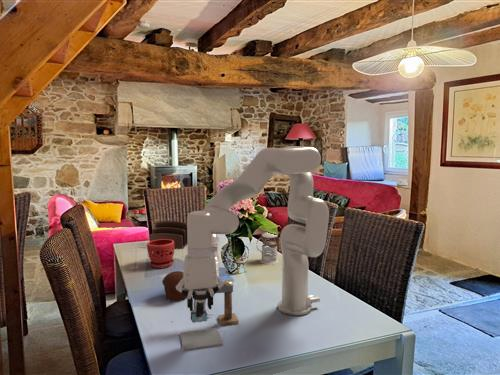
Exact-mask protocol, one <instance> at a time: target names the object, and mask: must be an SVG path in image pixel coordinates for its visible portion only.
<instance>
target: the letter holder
mask: <svg viewBox="0 0 500 375" xmlns="http://www.w3.org/2000/svg"><path fill="white" fill-rule="evenodd" d="M159 239H170V240H173V241H174V250H175V249H176V250H183V249H184V248H185V247H187V246H188V243H187V222H183V221H175V220H163V221H161V220H159V221H156V222H155V223H154V228H152V233H151V234H149V242H150V241H153V240H159ZM160 245H161V244H160Z"/></svg>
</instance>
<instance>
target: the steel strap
mask: <svg viewBox="0 0 500 375" xmlns="http://www.w3.org/2000/svg"><path fill="white" fill-rule="evenodd" d="M223 283H224V285H223V286H222V287H221V288H220V289H219V290H218V291H217V292H216V293H215V294H222V293H223V294H224V293H226V292H232V293H233V292H234V284H233V283H234V281H232V280H230V279H226V280H224V281H223ZM184 289H185V287H184ZM185 290H186V291H187V289H185ZM193 291H194V290H193ZM206 291H208V292H209V290H208V288H206Z"/></svg>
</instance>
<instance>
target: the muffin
mask: <svg viewBox="0 0 500 375" xmlns="http://www.w3.org/2000/svg"><path fill="white" fill-rule="evenodd" d="M182 278H183V271H178V270H176V271H172V272H169V273H168V274H166V275H165V277H164V278H163V279H162V285H163V287H164V293H165V298H166V301H167V300H168V301H169V302H182V301H185V300H187V297H186V296H184V295H183V294H182V293H181V292H179V291H178V290H176V286H177V284H178V283H179V282H180V281H181V279H182ZM182 288H183V289H184V285H183V286H182Z"/></svg>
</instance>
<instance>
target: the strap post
mask: <svg viewBox="0 0 500 375" xmlns="http://www.w3.org/2000/svg"><path fill="white" fill-rule="evenodd" d="M223 295H224V296H223V299H224V300H223V301H224V302H223V303H224V305H223V306H224V308H223V309H224V314H218V315H217V319H218V321H219V323H220V326H221V327H222V326H230V325H238V324H240V322H239V319H238V317H237V315H236V313H235V312H234V313H233V292H226V293H223Z"/></svg>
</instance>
